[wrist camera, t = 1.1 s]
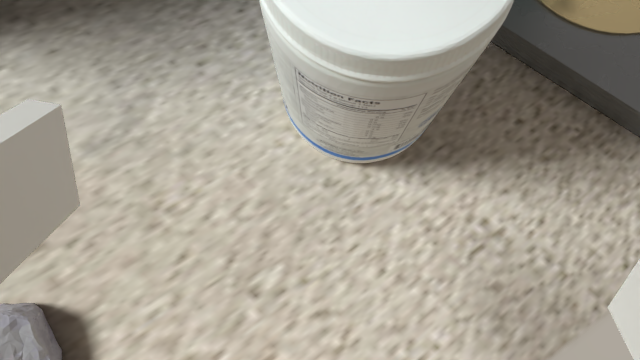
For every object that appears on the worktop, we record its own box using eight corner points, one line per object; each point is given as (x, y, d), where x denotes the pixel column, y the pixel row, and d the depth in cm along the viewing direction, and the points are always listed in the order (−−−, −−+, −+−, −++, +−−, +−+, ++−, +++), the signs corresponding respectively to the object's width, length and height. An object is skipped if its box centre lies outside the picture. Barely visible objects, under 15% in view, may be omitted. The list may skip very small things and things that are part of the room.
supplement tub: (298, 14, 31) (276, -218, 16) (443, 36, 30) (551, -182, 16) (270, 155, 29) (215, 33, 14) (423, 181, 28) (526, 82, 14)
